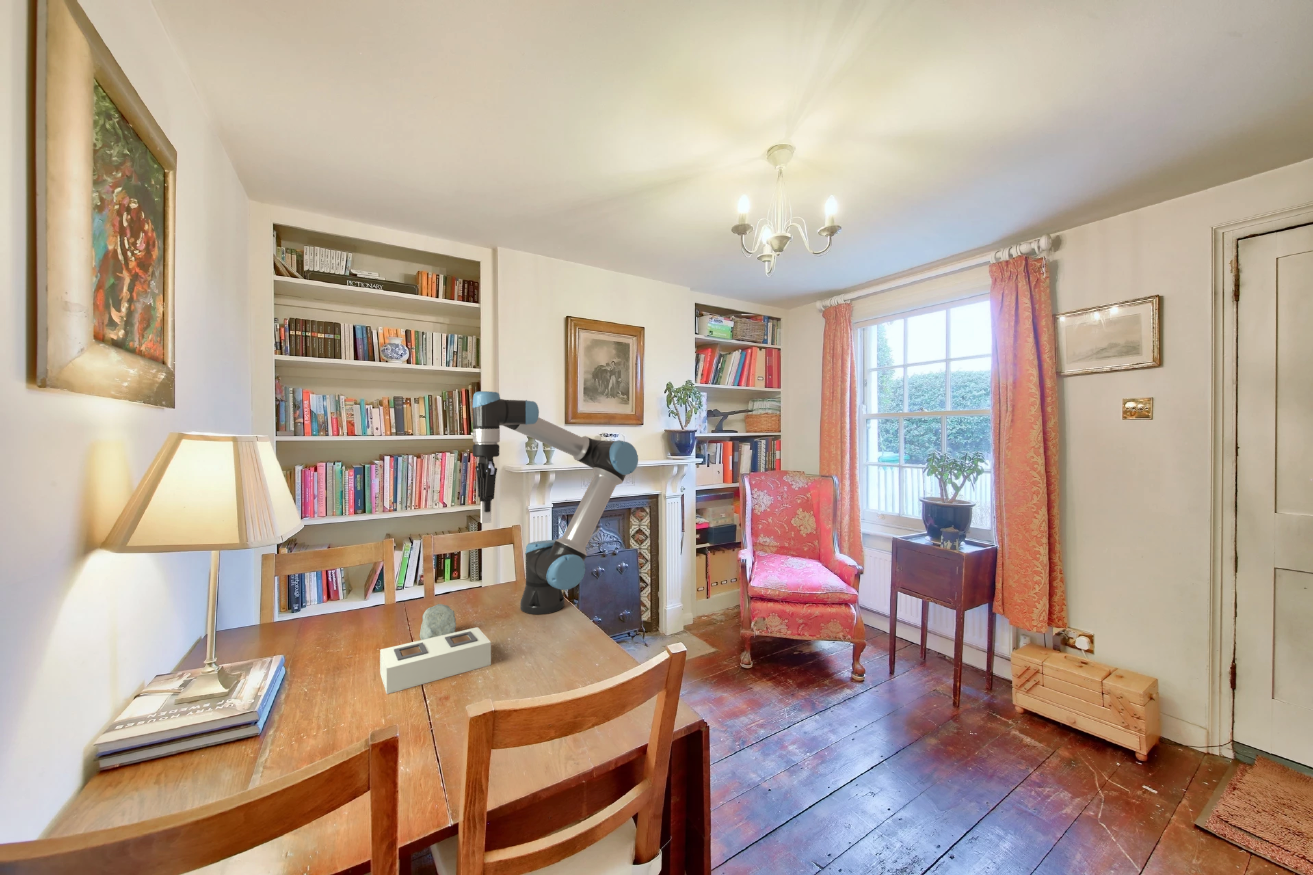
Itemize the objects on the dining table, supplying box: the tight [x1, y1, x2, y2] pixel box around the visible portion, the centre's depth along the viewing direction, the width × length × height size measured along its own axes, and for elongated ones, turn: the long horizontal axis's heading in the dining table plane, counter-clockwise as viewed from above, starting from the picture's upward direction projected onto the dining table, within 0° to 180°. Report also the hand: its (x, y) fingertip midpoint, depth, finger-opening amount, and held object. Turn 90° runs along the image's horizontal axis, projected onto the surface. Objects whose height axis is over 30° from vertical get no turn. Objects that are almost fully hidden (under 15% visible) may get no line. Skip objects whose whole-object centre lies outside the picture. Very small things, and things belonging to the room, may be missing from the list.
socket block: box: [379, 626, 492, 695], centre depth 122 cm, size 24×12×6 cm, turn 127°
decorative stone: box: [419, 603, 457, 640], centre depth 139 cm, size 13×11×10 cm
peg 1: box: [401, 647, 421, 656], centre depth 118 cm, size 4×4×6 cm
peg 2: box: [451, 635, 470, 644], centre depth 126 cm, size 4×4×6 cm
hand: (485, 522), depth 141 cm, fingers closed
